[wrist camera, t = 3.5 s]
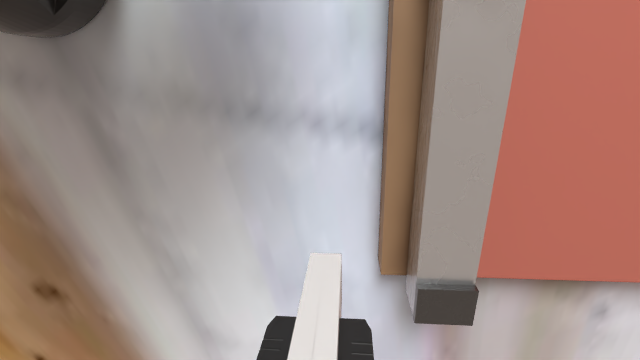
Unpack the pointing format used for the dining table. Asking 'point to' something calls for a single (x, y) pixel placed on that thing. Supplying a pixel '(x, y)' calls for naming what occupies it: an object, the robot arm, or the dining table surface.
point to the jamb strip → (401, 129)
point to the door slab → (570, 148)
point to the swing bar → (458, 151)
